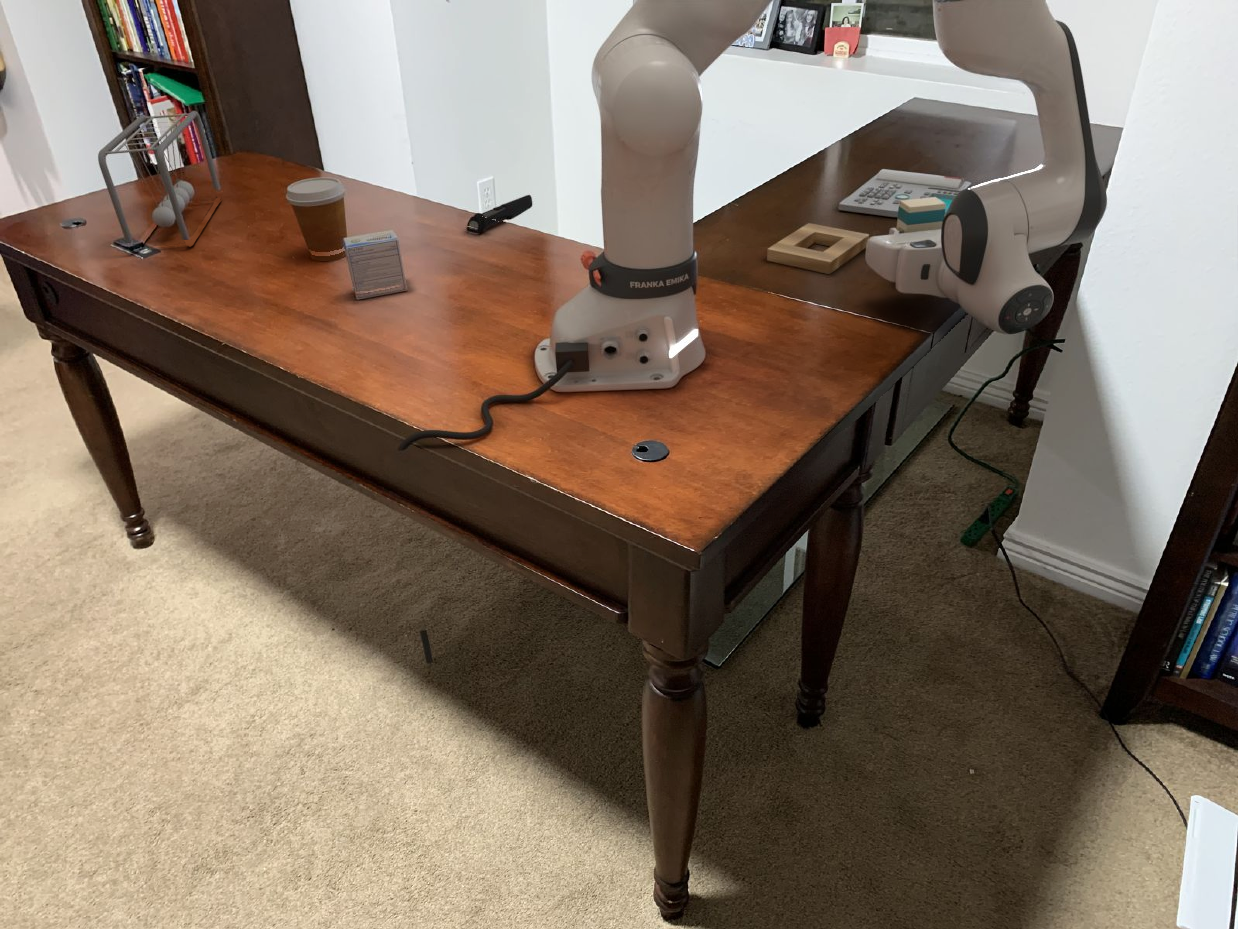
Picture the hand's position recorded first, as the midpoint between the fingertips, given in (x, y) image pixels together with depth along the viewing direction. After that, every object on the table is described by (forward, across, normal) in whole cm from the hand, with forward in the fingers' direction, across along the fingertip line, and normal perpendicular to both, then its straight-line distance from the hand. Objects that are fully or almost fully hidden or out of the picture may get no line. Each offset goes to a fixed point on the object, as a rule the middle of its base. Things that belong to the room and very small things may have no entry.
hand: (915, 230), depth 135 cm
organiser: (+14, +9, +8) cm, 18 cm away
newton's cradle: (+63, +117, +8) cm, 133 cm away
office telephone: (+34, -17, +8) cm, 39 cm away
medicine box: (+19, +79, +8) cm, 82 cm away
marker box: (-1, 0, +6) cm, 6 cm away
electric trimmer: (+46, +58, +8) cm, 74 cm away
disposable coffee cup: (+38, +88, +8) cm, 96 cm away
